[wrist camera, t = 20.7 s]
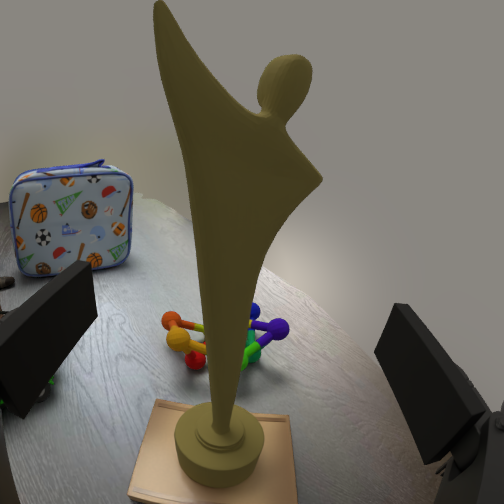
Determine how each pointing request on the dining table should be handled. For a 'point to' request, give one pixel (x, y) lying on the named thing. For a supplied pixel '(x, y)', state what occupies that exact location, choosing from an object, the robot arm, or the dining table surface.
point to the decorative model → (196, 351)
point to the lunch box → (71, 217)
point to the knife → (6, 281)
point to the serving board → (200, 496)
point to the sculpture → (230, 228)
